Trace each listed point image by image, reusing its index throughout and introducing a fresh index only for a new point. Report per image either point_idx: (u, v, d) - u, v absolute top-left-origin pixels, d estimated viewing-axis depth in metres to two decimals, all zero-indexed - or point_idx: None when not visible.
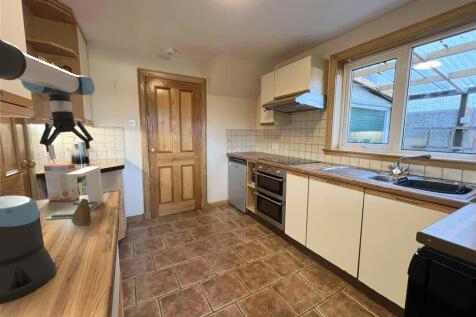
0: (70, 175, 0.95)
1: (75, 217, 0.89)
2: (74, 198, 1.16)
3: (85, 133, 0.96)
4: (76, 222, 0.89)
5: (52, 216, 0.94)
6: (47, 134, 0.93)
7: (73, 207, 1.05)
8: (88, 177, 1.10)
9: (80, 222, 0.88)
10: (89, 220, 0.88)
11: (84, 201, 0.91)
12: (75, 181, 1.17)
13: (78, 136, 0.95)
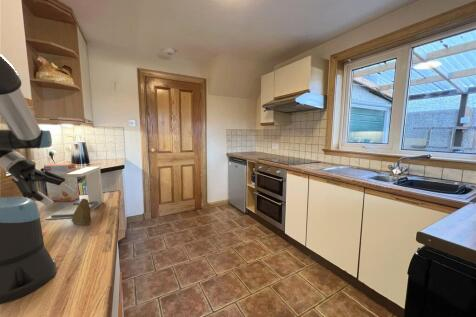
0: (70, 175, 0.95)
1: (75, 217, 0.89)
2: (74, 198, 1.16)
3: (56, 175, 0.94)
4: (76, 222, 0.89)
5: (52, 216, 0.94)
6: None
7: (73, 207, 1.05)
8: (88, 177, 1.10)
9: (80, 222, 0.88)
10: (89, 220, 0.88)
11: (84, 201, 0.91)
12: (75, 181, 1.17)
13: (54, 178, 0.92)
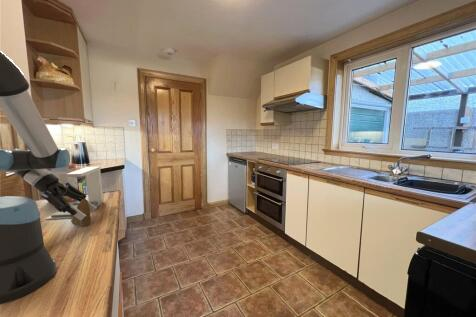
0: (70, 175, 0.95)
1: (75, 217, 0.89)
2: None
3: (78, 191, 0.94)
4: (76, 222, 0.88)
5: (52, 216, 0.94)
6: None
7: None
8: (88, 177, 1.10)
9: (80, 222, 0.88)
10: (89, 220, 0.88)
11: (84, 202, 0.90)
12: (75, 181, 1.17)
13: (75, 194, 0.91)
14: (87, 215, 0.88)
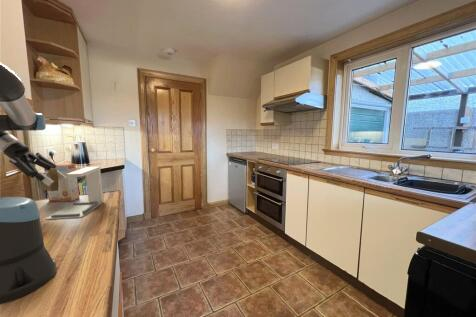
0: (70, 175, 0.95)
1: (43, 184, 0.94)
2: (74, 198, 1.16)
3: (48, 161, 1.00)
4: (44, 189, 0.94)
5: (52, 216, 0.94)
6: None
7: (73, 207, 1.05)
8: (88, 177, 1.10)
9: (48, 189, 0.93)
10: (57, 187, 0.93)
11: (53, 170, 0.96)
12: (75, 181, 1.17)
13: (45, 163, 0.97)
14: (55, 182, 0.94)
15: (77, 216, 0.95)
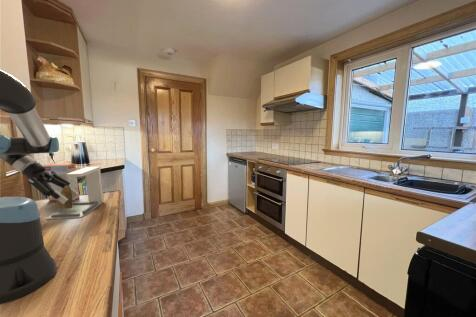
0: (70, 175, 0.95)
1: (58, 202, 1.00)
2: (74, 198, 1.16)
3: (62, 179, 1.05)
4: (59, 206, 0.99)
5: (52, 216, 0.94)
6: None
7: (73, 207, 1.05)
8: (88, 177, 1.10)
9: (63, 206, 0.99)
10: (71, 204, 0.99)
11: (67, 188, 1.02)
12: (75, 181, 1.17)
13: (60, 181, 1.03)
14: (69, 199, 0.99)
15: (77, 216, 0.95)
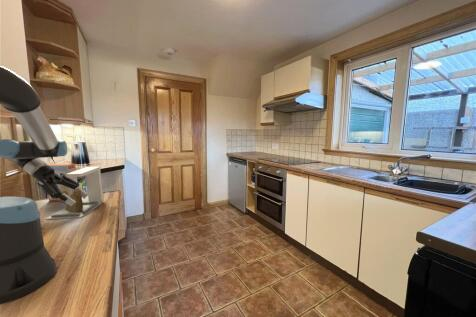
0: (70, 175, 0.95)
1: (69, 205, 1.01)
2: None
3: (72, 180, 1.07)
4: (69, 210, 1.00)
5: (52, 216, 0.94)
6: None
7: None
8: (88, 177, 1.10)
9: (73, 209, 1.00)
10: (81, 208, 1.00)
11: (77, 191, 1.03)
12: (75, 181, 1.17)
13: (69, 183, 1.04)
14: (80, 203, 1.00)
15: (77, 216, 0.95)
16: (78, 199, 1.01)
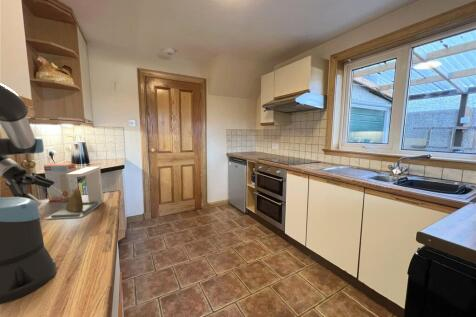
0: (70, 175, 0.95)
1: (69, 205, 1.01)
2: None
3: (46, 179, 1.06)
4: (69, 210, 1.00)
5: (52, 216, 0.94)
6: None
7: None
8: (88, 177, 1.10)
9: (73, 209, 1.00)
10: (81, 208, 1.00)
11: (77, 191, 1.03)
12: (75, 181, 1.17)
13: (43, 182, 1.03)
14: (80, 203, 1.00)
15: (77, 216, 0.95)
16: (78, 199, 1.01)
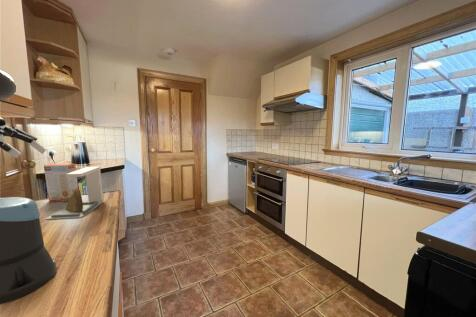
0: (70, 175, 0.95)
1: (69, 205, 1.01)
2: None
3: (28, 134, 0.98)
4: (69, 210, 1.00)
5: (52, 216, 0.94)
6: None
7: None
8: (88, 177, 1.10)
9: (73, 209, 1.00)
10: (81, 208, 1.00)
11: (77, 191, 1.03)
12: (75, 181, 1.17)
13: (25, 136, 0.95)
14: (80, 203, 1.00)
15: (77, 216, 0.95)
16: (78, 199, 1.01)
